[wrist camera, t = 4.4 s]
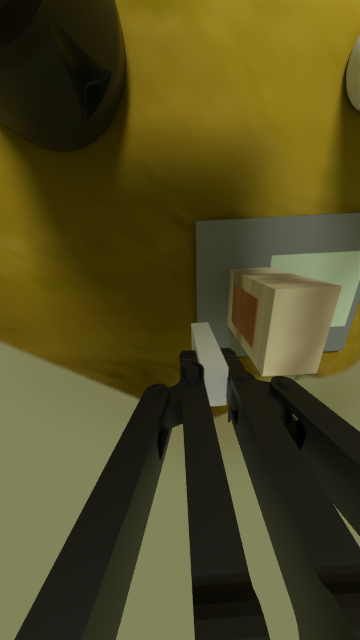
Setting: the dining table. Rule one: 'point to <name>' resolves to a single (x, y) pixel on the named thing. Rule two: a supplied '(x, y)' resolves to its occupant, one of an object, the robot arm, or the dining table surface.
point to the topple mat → (278, 264)
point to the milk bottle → (354, 76)
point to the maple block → (281, 318)
